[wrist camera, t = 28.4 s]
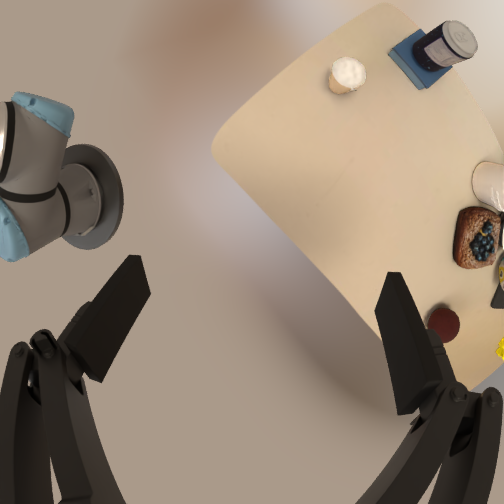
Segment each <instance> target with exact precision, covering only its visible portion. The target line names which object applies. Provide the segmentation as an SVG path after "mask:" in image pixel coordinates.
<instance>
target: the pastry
mask: <svg viewBox="0 0 504 504" xmlns="http://www.w3.org/2000/svg"><path fill="white" fill-rule="evenodd" d="M500 218H501V217H500V216H498V215H497V214H496V213H495V212H493V211H491V210H489V209H486V208H483V207H468V208H465V209H463V210H461V211H460V212H459V215H458V218H457V223H456V230H455V236H454V243H453V258H454V260H455V262H456V263H457V265H459V266H460V267H462V268H466V269H478V268H482V267H485V266H488V265H490V264H491V265H492V264H493V262H494V261H495V259H496V257H495V256H496V252H497V247H498V241H499V233H500V224H501V221H500Z"/></svg>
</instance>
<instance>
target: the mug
mask: <svg viewBox="0 0 504 504" xmlns="http://www.w3.org/2000/svg"><path fill="white" fill-rule="evenodd" d="M472 185H473V190H474V193H475V195H476V197H477V198H478V199H479V200H480V201H481V202H483V203H486V204H488V205H490V206H493V207H495V208H496V209H497V210H499V211H502V212H504V165H501V164H496V163H491V162H482V163H480V164H479V165H478V166H477V167H476V169H475V171H474V173H473V179H472Z"/></svg>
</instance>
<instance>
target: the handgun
mask: <svg viewBox="0 0 504 504" xmlns="http://www.w3.org/2000/svg"><path fill="white" fill-rule="evenodd" d="M500 217H501V218H500V221H501V224H500V233H499V241H498V244H499V245H500V246H503V228H504V212H503V213H502V214H501V216H500Z"/></svg>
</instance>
